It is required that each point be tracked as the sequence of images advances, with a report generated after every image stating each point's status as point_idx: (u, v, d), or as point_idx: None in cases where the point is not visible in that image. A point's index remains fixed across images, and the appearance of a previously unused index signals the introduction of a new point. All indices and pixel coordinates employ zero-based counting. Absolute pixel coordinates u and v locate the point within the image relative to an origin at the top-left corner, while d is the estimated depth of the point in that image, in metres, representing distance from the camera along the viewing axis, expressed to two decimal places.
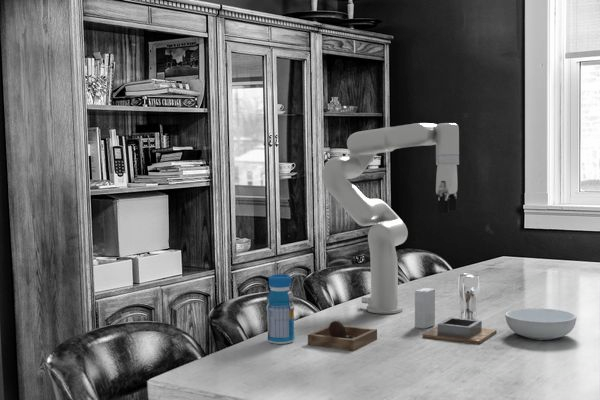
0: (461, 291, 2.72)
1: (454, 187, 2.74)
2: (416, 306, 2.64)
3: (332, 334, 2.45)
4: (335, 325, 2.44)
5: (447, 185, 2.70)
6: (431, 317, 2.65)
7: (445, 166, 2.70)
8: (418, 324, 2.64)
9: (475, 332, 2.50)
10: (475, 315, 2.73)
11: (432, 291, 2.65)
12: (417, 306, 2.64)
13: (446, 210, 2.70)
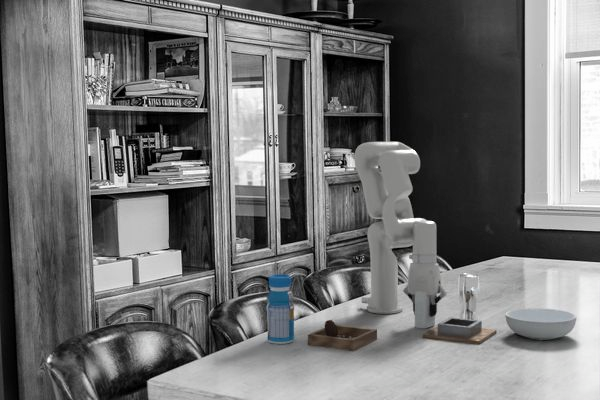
0: (461, 291, 2.72)
1: None
2: (416, 306, 2.64)
3: (327, 333, 2.47)
4: (328, 324, 2.45)
5: (440, 284, 2.64)
6: (431, 317, 2.65)
7: (438, 265, 2.63)
8: (418, 324, 2.64)
9: (475, 332, 2.50)
10: (475, 315, 2.73)
11: None
12: (417, 306, 2.64)
13: None
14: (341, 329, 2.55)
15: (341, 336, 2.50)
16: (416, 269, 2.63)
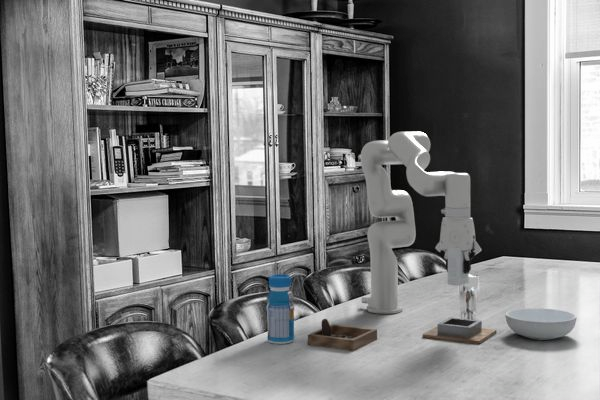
0: (461, 291, 2.72)
1: None
2: (449, 262, 2.51)
3: (323, 332, 2.49)
4: (323, 323, 2.47)
5: None
6: (465, 274, 2.52)
7: (472, 219, 2.50)
8: (451, 281, 2.51)
9: (475, 332, 2.50)
10: (475, 315, 2.73)
11: None
12: (450, 262, 2.51)
13: None
14: (341, 329, 2.55)
15: (339, 335, 2.51)
16: (449, 223, 2.50)
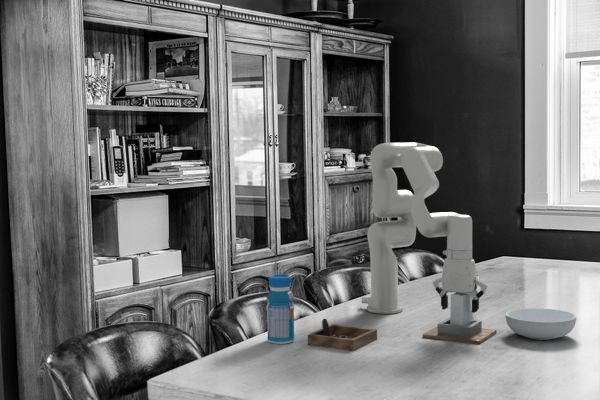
0: None
1: None
2: (452, 311, 2.52)
3: (323, 331, 2.49)
4: (323, 323, 2.47)
5: None
6: (467, 322, 2.53)
7: (474, 261, 2.50)
8: None
9: (475, 332, 2.50)
10: (475, 315, 2.73)
11: (468, 295, 2.52)
12: (453, 310, 2.51)
13: None
14: (341, 329, 2.55)
15: (340, 336, 2.51)
16: (451, 265, 2.51)
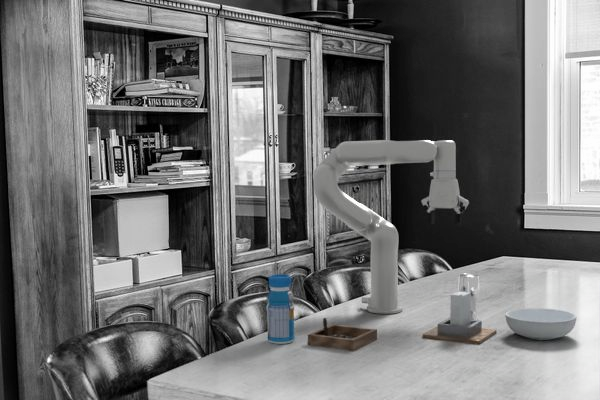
0: (461, 291, 2.72)
1: None
2: (452, 311, 2.52)
3: None
4: None
5: None
6: (467, 322, 2.53)
7: (457, 181, 2.87)
8: None
9: (475, 332, 2.50)
10: (475, 315, 2.73)
11: (468, 295, 2.52)
12: (453, 310, 2.51)
13: None
14: (341, 329, 2.55)
15: (342, 336, 2.51)
16: (437, 184, 2.87)
